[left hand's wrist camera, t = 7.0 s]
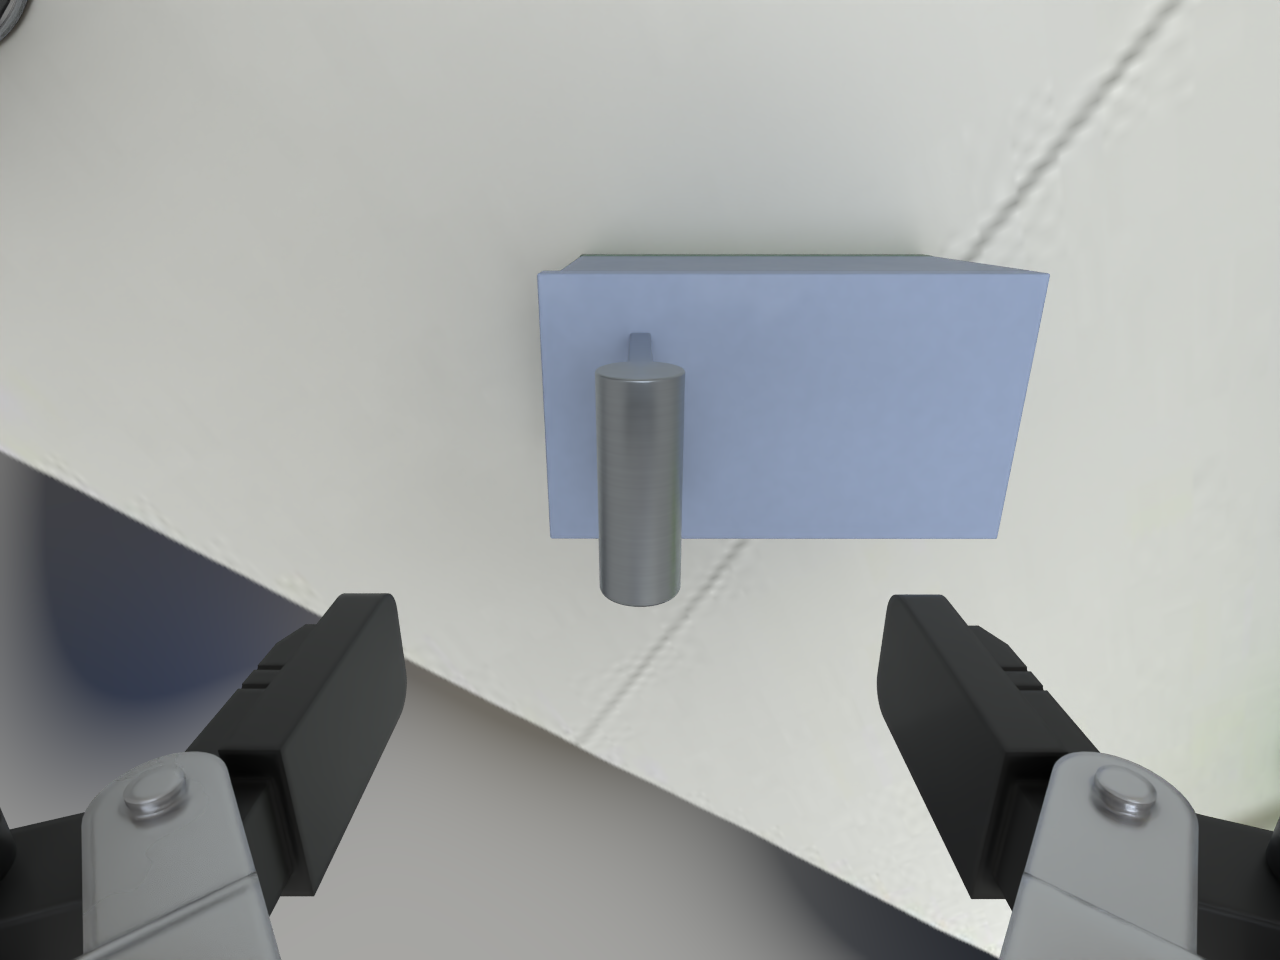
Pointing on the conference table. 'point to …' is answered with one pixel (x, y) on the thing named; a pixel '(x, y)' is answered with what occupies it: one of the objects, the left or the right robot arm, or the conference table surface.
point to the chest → (775, 263)
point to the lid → (778, 408)
